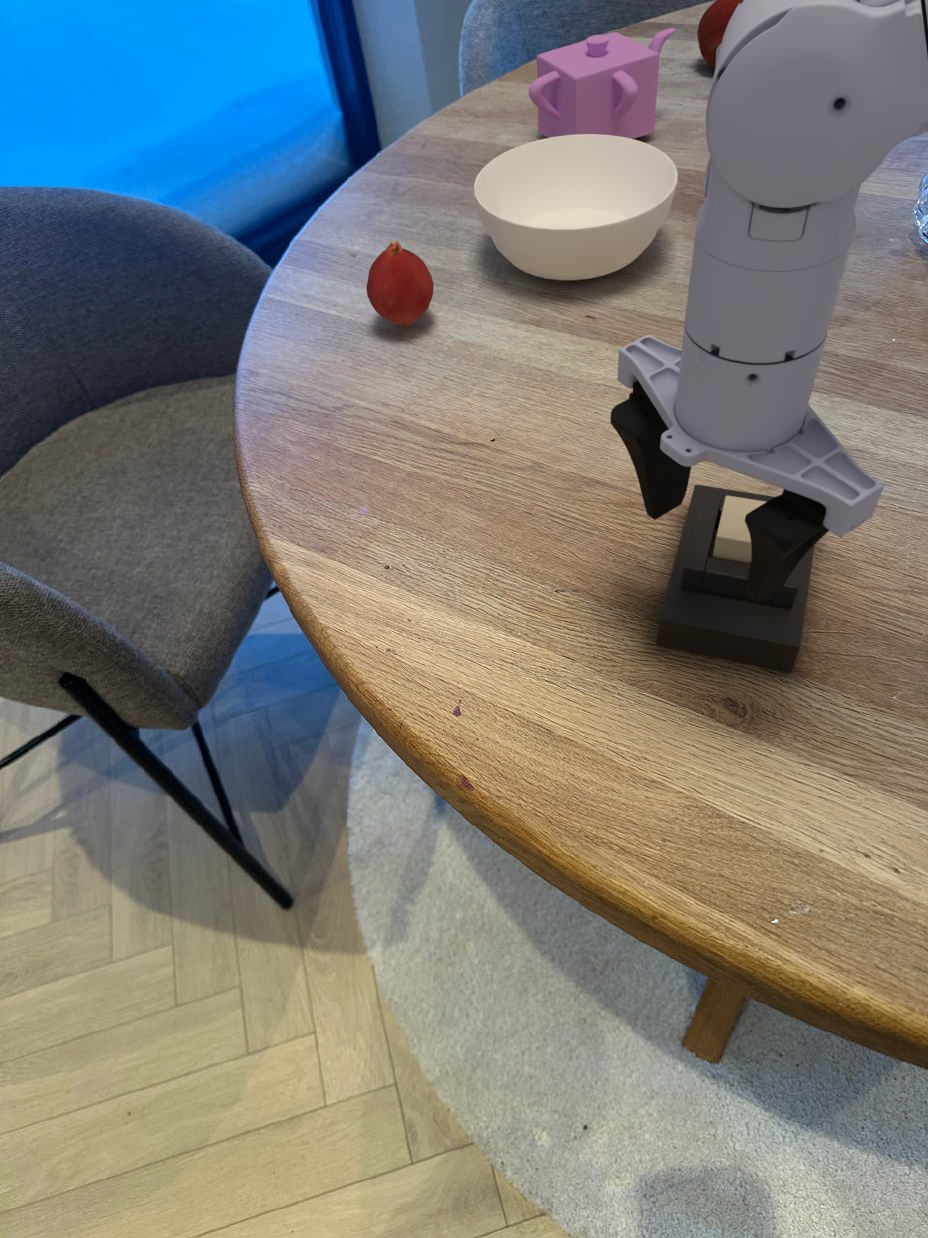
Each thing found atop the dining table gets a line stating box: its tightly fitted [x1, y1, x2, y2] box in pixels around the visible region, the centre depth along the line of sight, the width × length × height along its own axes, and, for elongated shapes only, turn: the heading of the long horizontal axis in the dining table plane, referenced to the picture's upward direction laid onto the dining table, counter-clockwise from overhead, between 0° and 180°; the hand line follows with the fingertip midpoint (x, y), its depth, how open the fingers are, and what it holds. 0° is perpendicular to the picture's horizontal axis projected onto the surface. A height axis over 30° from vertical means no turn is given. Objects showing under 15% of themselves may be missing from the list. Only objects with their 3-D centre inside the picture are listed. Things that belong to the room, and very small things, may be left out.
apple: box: [696, 0, 744, 70], centre depth 103 cm, size 7×8×8 cm
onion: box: [366, 240, 435, 328], centre depth 74 cm, size 6×6×8 cm
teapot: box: [527, 27, 676, 140], centre depth 93 cm, size 18×14×10 cm
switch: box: [712, 496, 766, 565], centre depth 51 cm, size 4×4×2 cm
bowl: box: [473, 134, 679, 281], centre depth 79 cm, size 18×18×7 cm
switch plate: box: [655, 484, 815, 674], centre depth 53 cm, size 12×8×4 cm, turn 161°
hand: (712, 547), depth 46 cm, fingers open, 7 cm apart
